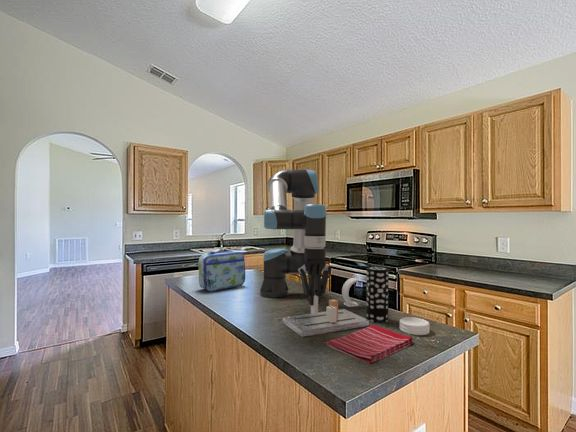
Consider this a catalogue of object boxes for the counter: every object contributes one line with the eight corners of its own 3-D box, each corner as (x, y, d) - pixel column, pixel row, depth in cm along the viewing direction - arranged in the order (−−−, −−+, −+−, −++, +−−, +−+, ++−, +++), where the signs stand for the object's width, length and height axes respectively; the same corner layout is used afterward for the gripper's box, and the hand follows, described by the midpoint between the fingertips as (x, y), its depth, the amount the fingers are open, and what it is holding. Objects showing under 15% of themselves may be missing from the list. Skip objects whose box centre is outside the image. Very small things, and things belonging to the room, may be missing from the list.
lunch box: (204, 293, 166) (204, 253, 166) (196, 289, 174) (196, 251, 174) (247, 287, 182) (247, 250, 182) (237, 283, 190) (237, 249, 191)
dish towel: (415, 345, 101) (415, 336, 101) (370, 366, 86) (370, 356, 86) (370, 330, 114) (370, 323, 114) (324, 346, 99) (324, 338, 99)
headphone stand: (358, 306, 144) (358, 279, 144) (346, 307, 142) (347, 280, 142) (353, 303, 148) (353, 277, 148) (341, 304, 146) (341, 278, 146)
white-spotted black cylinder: (373, 314, 131) (373, 266, 131) (392, 319, 125) (392, 268, 125) (362, 319, 125) (362, 268, 125) (381, 324, 119) (381, 271, 119)
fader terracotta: (328, 312, 126) (328, 299, 126) (334, 311, 127) (334, 298, 127) (332, 314, 123) (333, 301, 123) (338, 313, 124) (338, 300, 124)
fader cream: (326, 320, 116) (326, 306, 116) (331, 319, 117) (332, 305, 117) (330, 322, 113) (330, 308, 113) (336, 321, 114) (336, 307, 114)
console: (282, 322, 120) (282, 316, 120) (344, 313, 132) (344, 308, 132) (301, 336, 106) (301, 330, 106) (369, 325, 117) (369, 320, 117)
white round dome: (393, 329, 114) (393, 319, 114) (409, 324, 120) (409, 315, 120) (419, 338, 106) (419, 327, 106) (435, 332, 112) (435, 322, 112)
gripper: (303, 249, 106) (302, 319, 107) (336, 248, 112) (335, 314, 112) (293, 247, 113) (293, 313, 114) (325, 246, 119) (324, 308, 119)
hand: (314, 313), depth 113 cm, fingers closed
